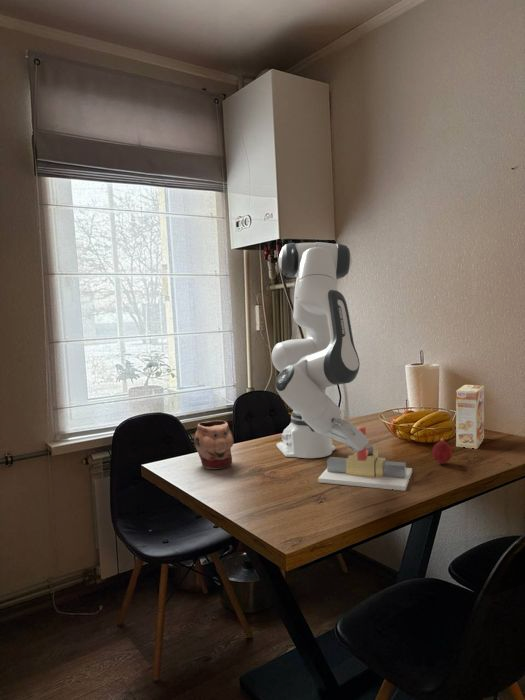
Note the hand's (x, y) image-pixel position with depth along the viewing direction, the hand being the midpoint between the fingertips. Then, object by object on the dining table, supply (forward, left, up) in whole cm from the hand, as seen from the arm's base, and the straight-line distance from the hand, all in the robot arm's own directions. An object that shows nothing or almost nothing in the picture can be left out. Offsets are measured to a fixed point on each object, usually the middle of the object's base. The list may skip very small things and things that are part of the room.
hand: (356, 448), depth 139 cm
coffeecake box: (-21, +60, -12) cm, 64 cm away
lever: (-4, +5, -4) cm, 8 cm away
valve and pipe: (-8, +8, -11) cm, 16 cm away
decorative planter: (-42, -27, -12) cm, 51 cm away
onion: (-7, +35, -12) cm, 37 cm away
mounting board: (-8, +8, -11) cm, 16 cm away
